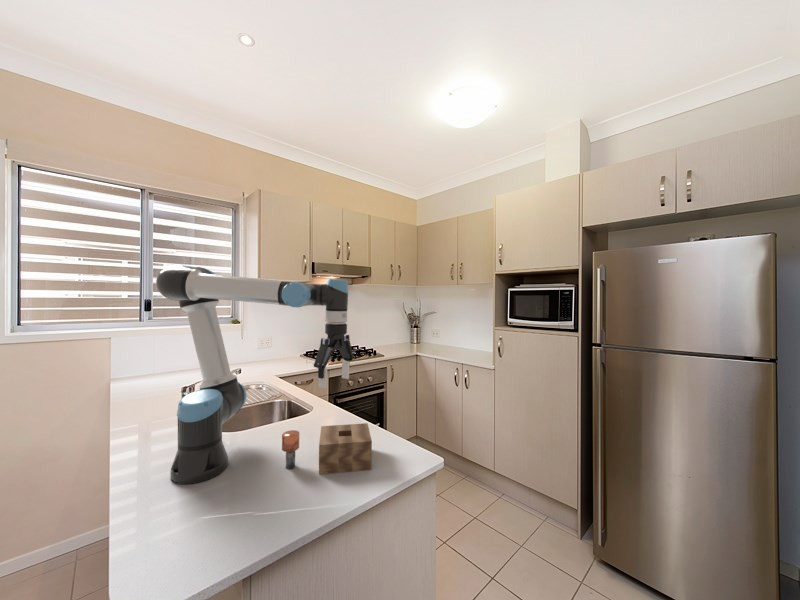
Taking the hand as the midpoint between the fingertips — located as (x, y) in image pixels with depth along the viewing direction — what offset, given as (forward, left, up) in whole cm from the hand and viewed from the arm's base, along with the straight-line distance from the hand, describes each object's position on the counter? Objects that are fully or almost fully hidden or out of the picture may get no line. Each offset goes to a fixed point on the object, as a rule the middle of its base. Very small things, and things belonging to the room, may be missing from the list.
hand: (334, 382), depth 114 cm
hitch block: (+4, -9, -23) cm, 25 cm away
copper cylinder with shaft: (-13, -10, -23) cm, 29 cm away
